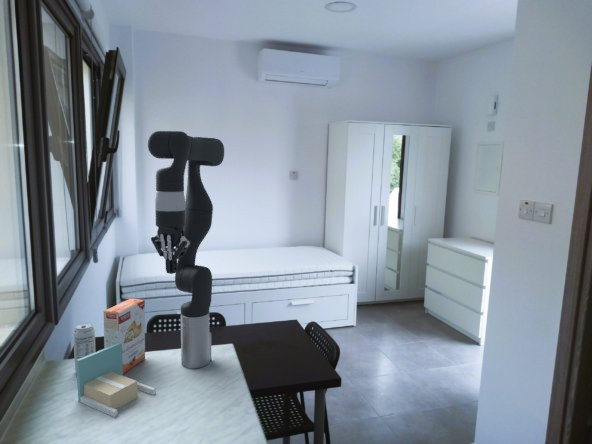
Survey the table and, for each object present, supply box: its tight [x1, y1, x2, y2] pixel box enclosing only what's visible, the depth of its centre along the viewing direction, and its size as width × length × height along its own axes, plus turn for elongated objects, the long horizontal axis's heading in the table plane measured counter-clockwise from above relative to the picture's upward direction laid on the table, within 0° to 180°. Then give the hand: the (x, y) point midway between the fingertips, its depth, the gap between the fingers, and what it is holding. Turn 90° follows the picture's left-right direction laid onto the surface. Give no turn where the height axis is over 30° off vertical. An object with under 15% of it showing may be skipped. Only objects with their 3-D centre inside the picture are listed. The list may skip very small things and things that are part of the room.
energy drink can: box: [72, 322, 97, 373], centre depth 136 cm, size 6×6×15 cm
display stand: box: [76, 343, 156, 418], centre depth 122 cm, size 14×15×12 cm
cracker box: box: [103, 298, 146, 375], centre depth 140 cm, size 14×6×21 cm, turn 166°
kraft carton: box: [84, 372, 139, 410], centre depth 121 cm, size 9×11×5 cm
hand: (171, 272), depth 115 cm, fingers closed
